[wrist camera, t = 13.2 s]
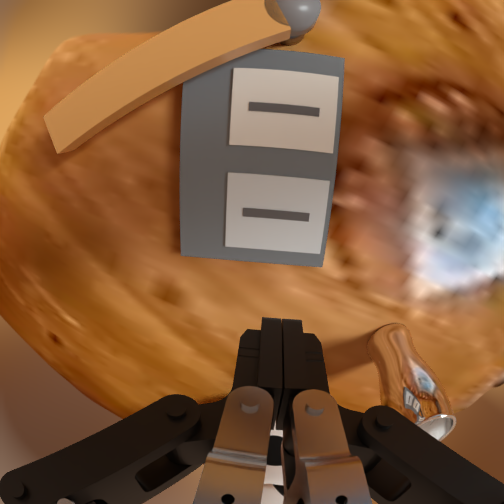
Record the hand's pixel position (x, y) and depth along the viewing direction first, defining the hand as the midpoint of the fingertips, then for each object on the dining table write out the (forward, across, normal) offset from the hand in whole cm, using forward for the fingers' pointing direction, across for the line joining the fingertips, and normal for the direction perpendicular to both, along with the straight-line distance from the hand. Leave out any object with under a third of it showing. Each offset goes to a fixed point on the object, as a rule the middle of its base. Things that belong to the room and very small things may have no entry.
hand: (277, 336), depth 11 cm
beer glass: (+19, -16, +16) cm, 29 cm away
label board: (+19, +2, -5) cm, 20 cm away
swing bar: (+15, +9, -13) cm, 21 cm away
